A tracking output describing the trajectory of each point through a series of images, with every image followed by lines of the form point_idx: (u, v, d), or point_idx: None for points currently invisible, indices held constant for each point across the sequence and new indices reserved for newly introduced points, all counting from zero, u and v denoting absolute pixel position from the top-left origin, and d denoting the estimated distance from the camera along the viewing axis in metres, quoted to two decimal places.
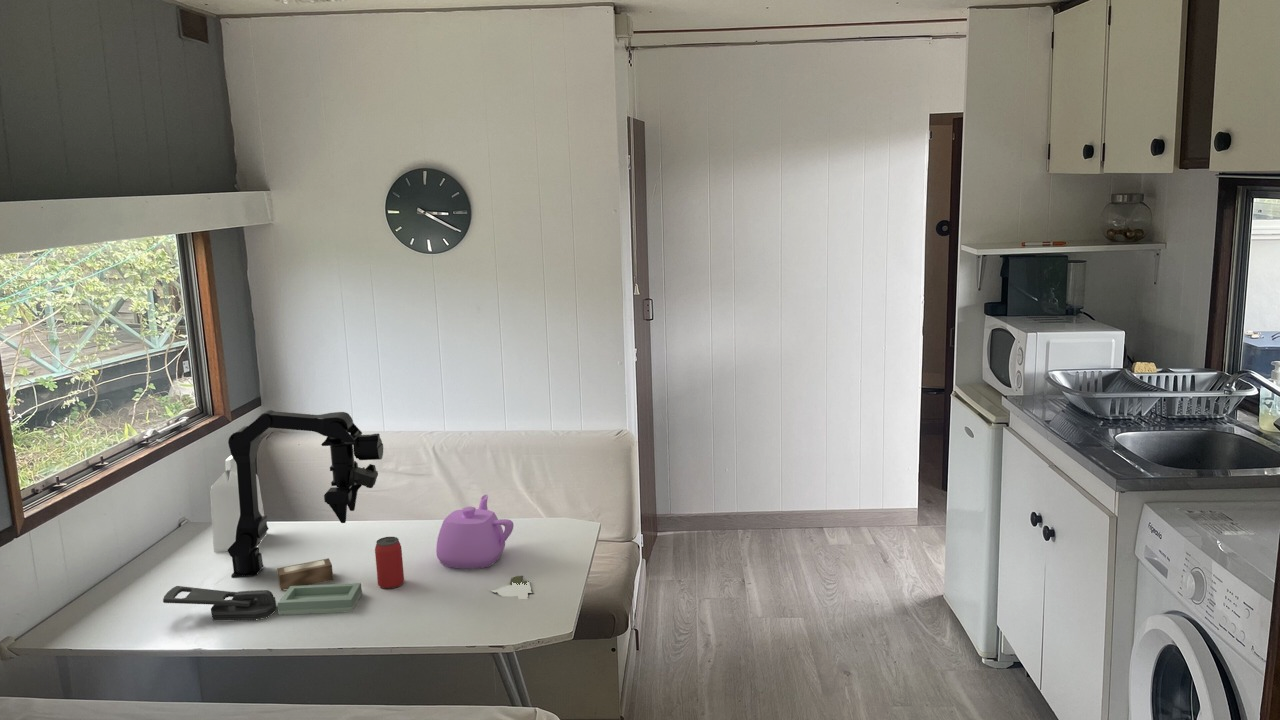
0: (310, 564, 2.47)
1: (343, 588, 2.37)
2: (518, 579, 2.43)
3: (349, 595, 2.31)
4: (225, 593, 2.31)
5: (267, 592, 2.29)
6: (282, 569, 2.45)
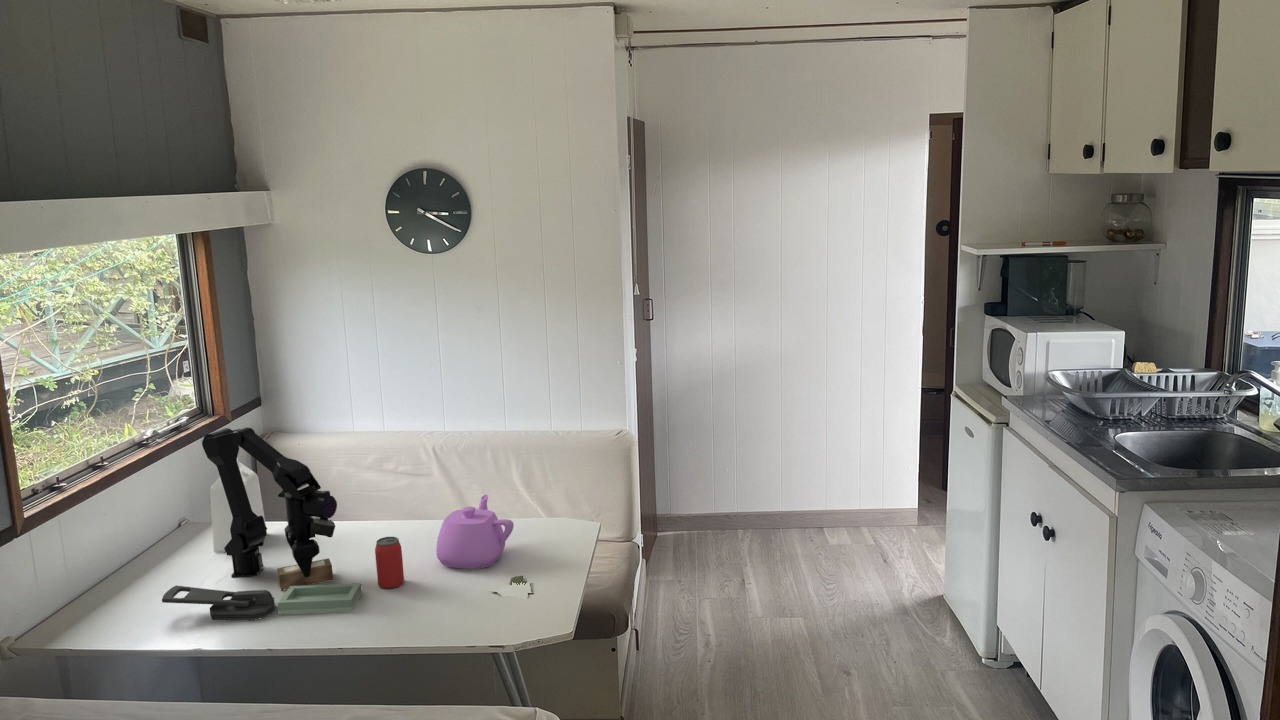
0: None
1: (343, 588, 2.37)
2: (518, 579, 2.43)
3: (349, 595, 2.31)
4: (224, 593, 2.31)
5: (265, 592, 2.29)
6: (282, 569, 2.45)
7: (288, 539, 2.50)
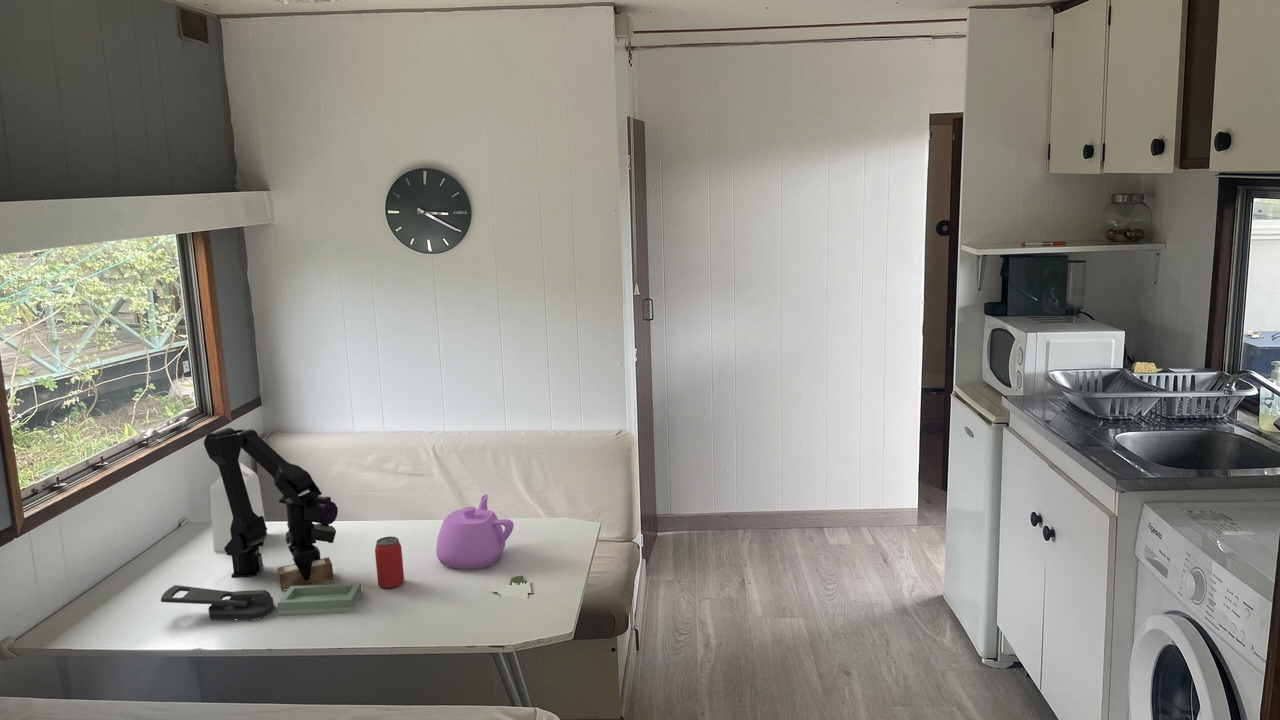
0: None
1: (343, 588, 2.37)
2: (518, 579, 2.43)
3: (349, 595, 2.31)
4: (223, 593, 2.31)
5: (264, 592, 2.29)
6: (282, 568, 2.45)
7: (290, 547, 2.48)
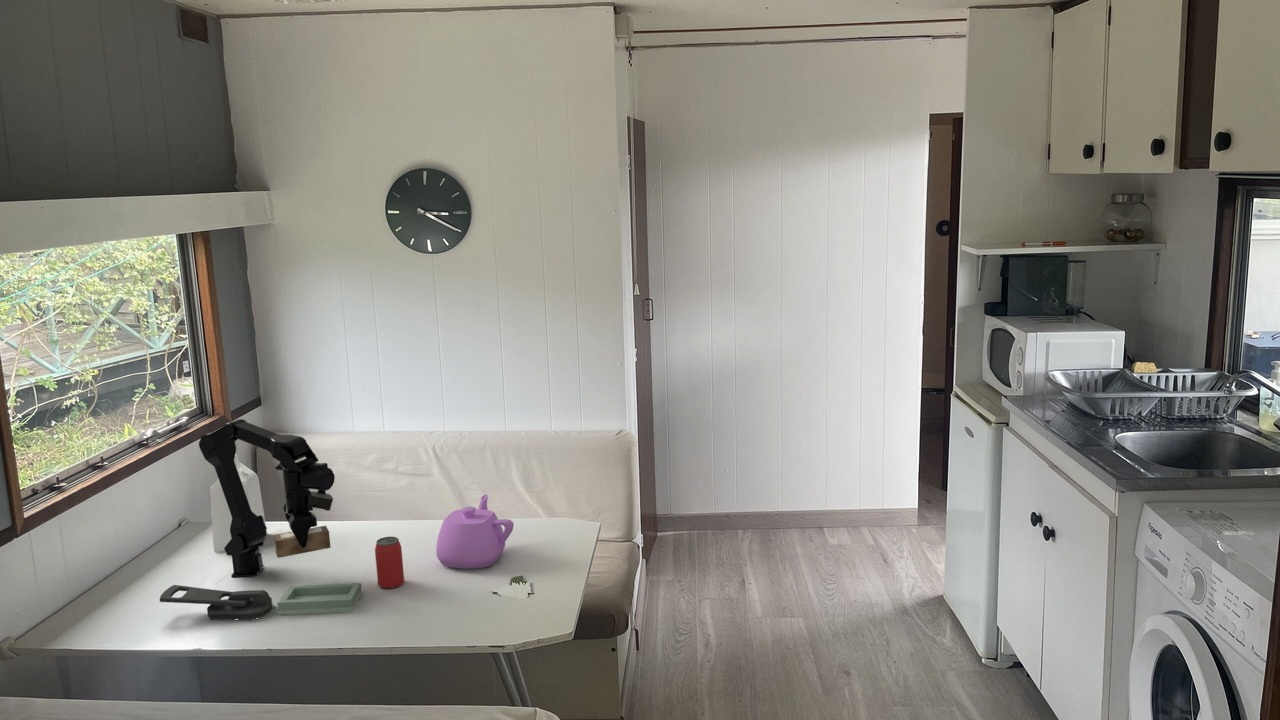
0: None
1: (343, 588, 2.37)
2: (518, 579, 2.43)
3: (349, 595, 2.31)
4: (221, 593, 2.31)
5: (263, 592, 2.29)
6: (279, 536, 2.43)
7: (286, 515, 2.47)
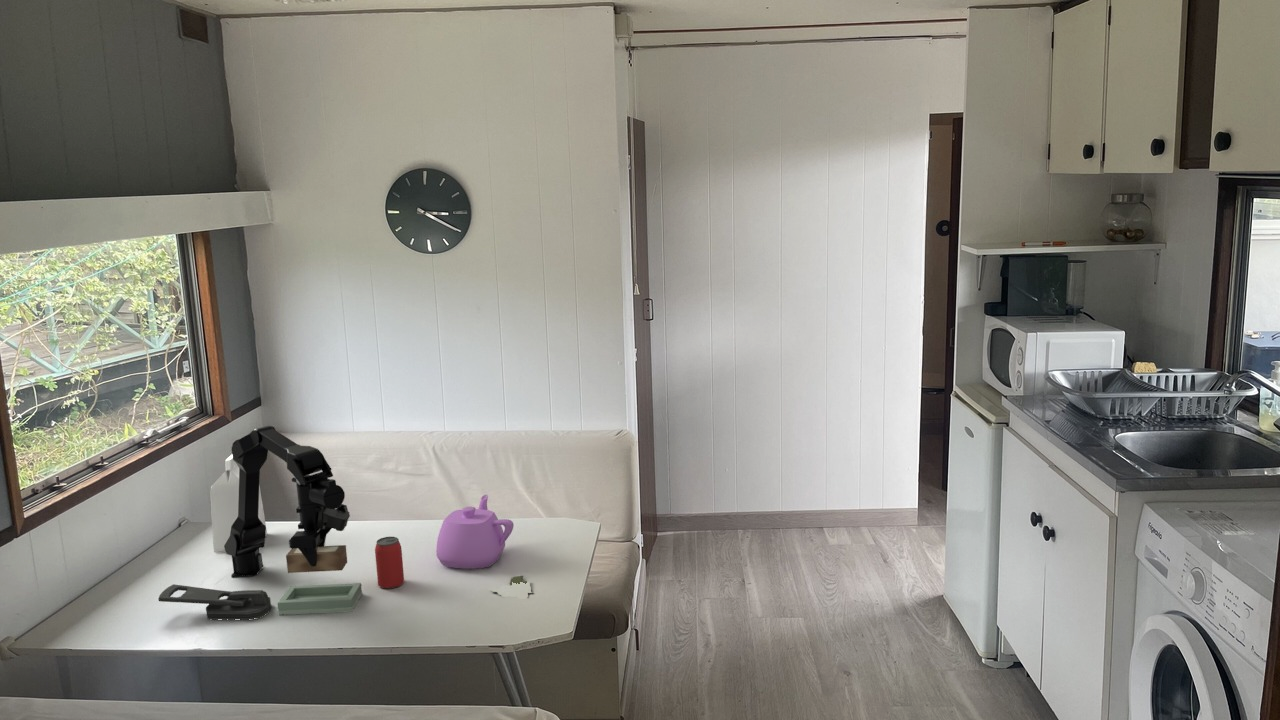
0: (322, 548, 2.31)
1: (343, 588, 2.37)
2: (518, 579, 2.43)
3: (349, 595, 2.31)
4: (220, 592, 2.31)
5: (261, 592, 2.29)
6: (295, 549, 2.32)
7: None
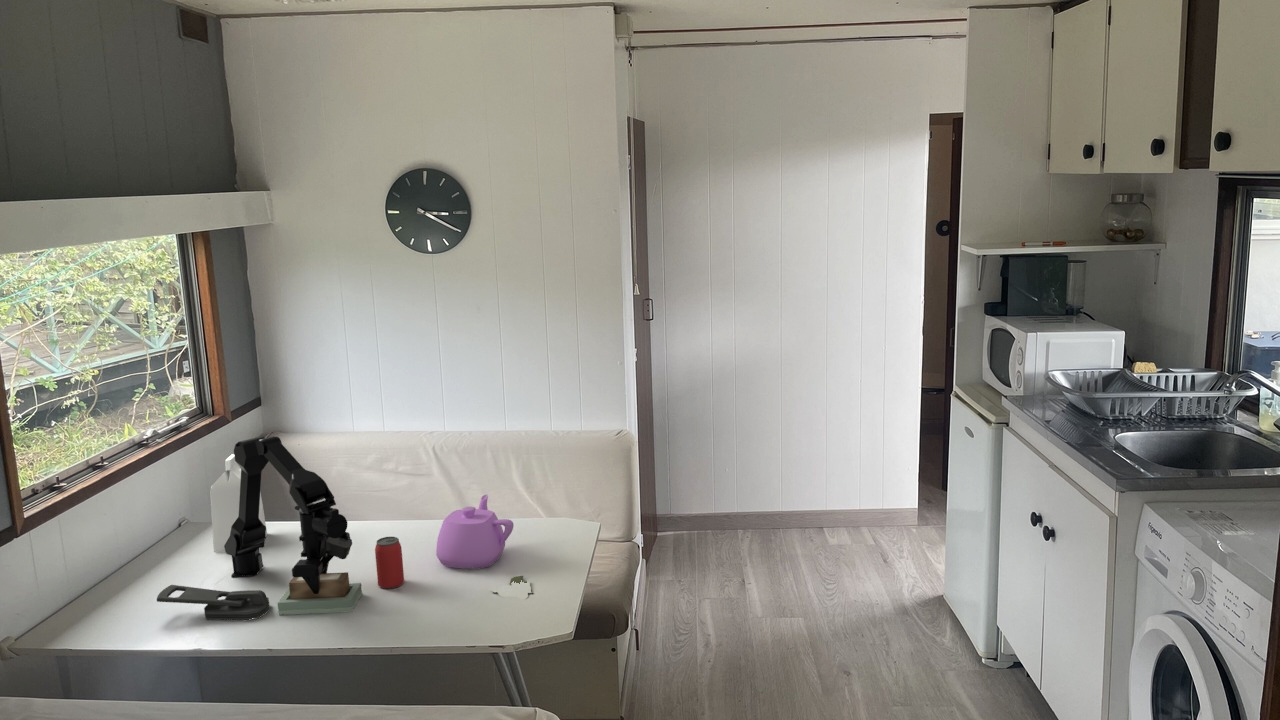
0: (325, 576, 2.33)
1: None
2: (518, 579, 2.43)
3: (349, 595, 2.31)
4: (219, 593, 2.31)
5: (259, 592, 2.29)
6: None
7: None
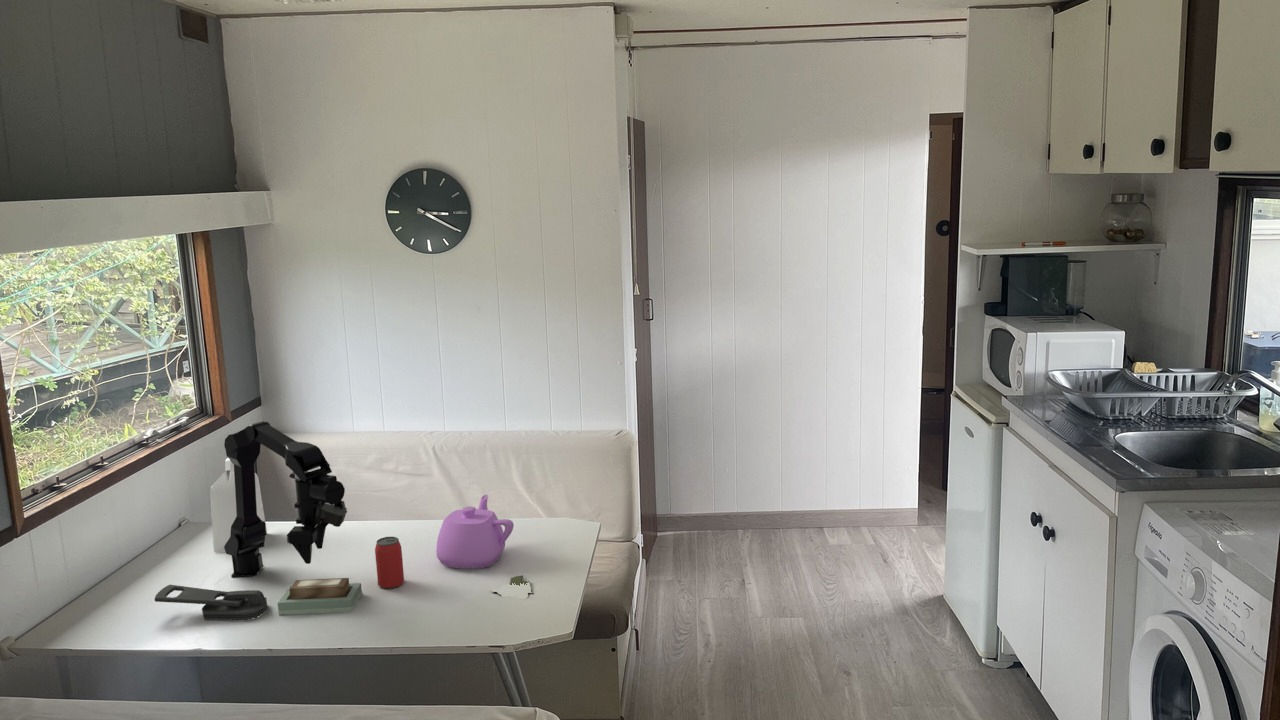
0: (325, 581, 2.33)
1: None
2: (518, 579, 2.43)
3: (349, 595, 2.31)
4: (217, 593, 2.31)
5: (257, 592, 2.29)
6: (298, 582, 2.33)
7: None
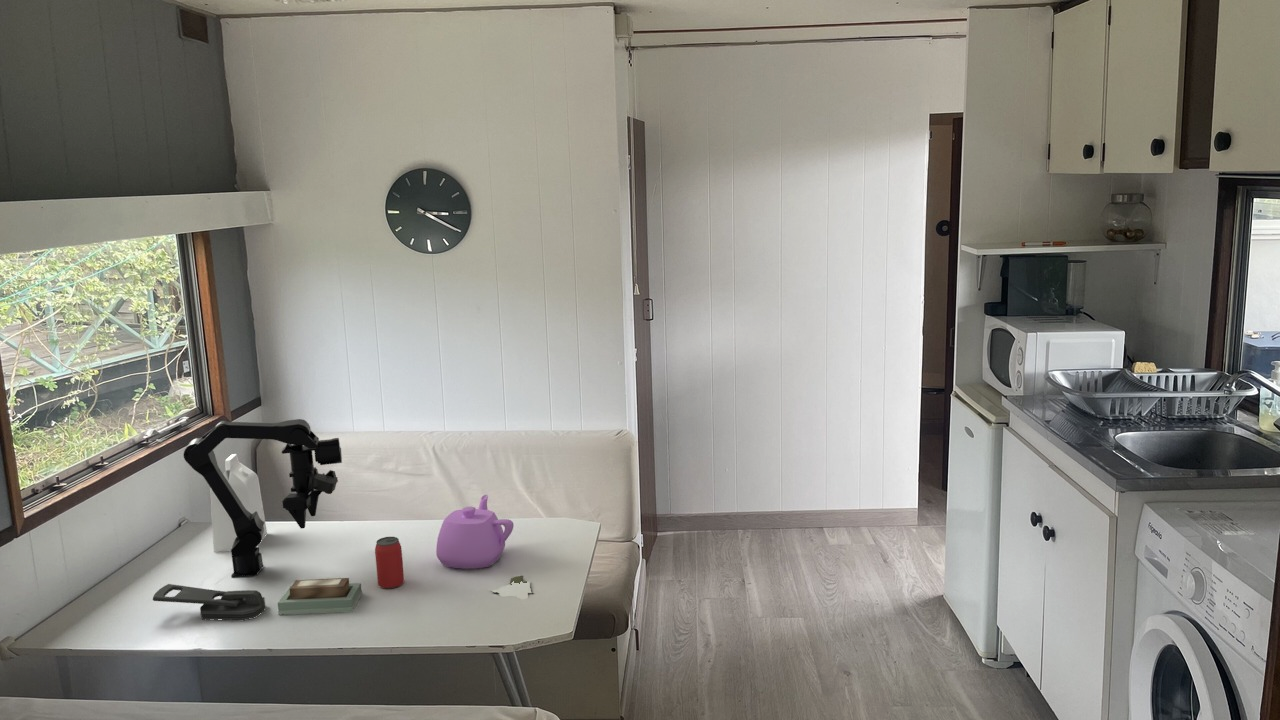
0: (325, 581, 2.33)
1: None
2: (517, 579, 2.43)
3: (349, 595, 2.31)
4: (215, 592, 2.31)
5: (255, 592, 2.29)
6: (298, 582, 2.33)
7: None
